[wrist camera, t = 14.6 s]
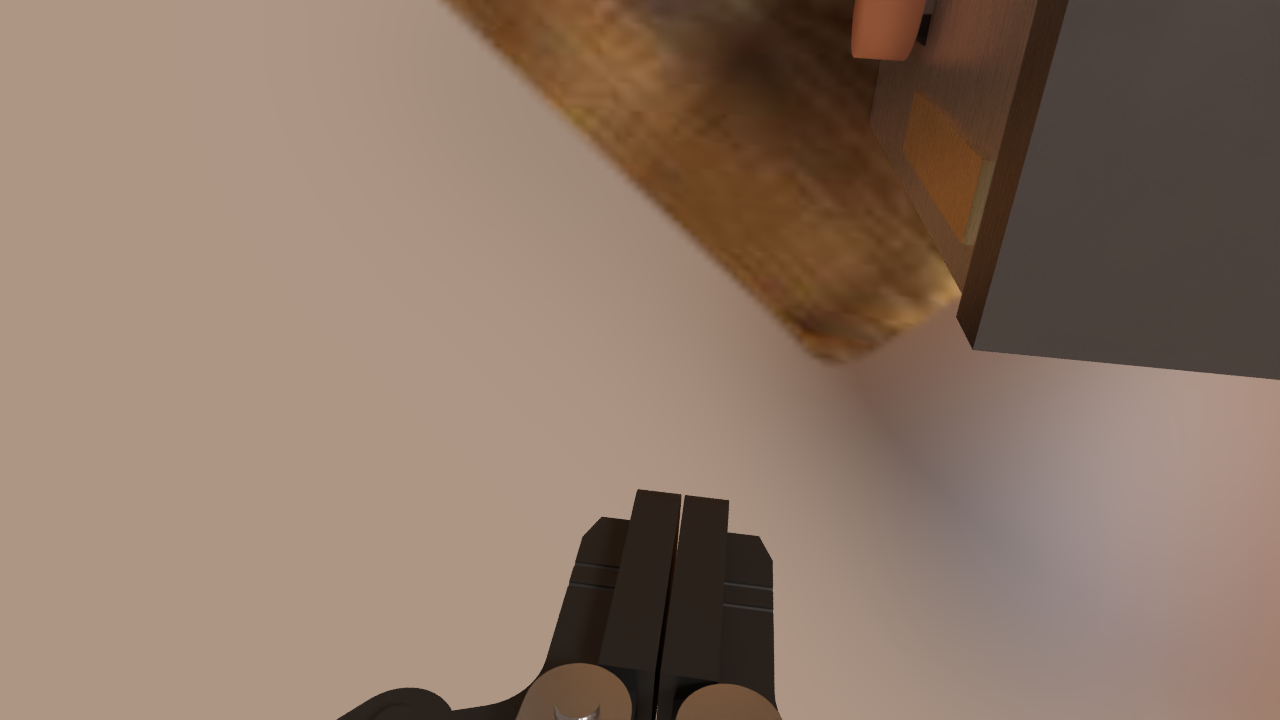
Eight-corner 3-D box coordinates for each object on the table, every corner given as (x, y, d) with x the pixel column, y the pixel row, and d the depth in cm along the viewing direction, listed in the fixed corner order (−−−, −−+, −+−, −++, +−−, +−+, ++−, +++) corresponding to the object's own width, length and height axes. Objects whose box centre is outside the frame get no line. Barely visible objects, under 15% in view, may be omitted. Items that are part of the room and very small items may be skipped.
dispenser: (862, 129, 43) (972, 350, 20) (919, -198, 36) (1182, -414, 13) (1105, 147, 42) (1511, 402, 19) (1213, -188, 35) (2050, -408, 12)
